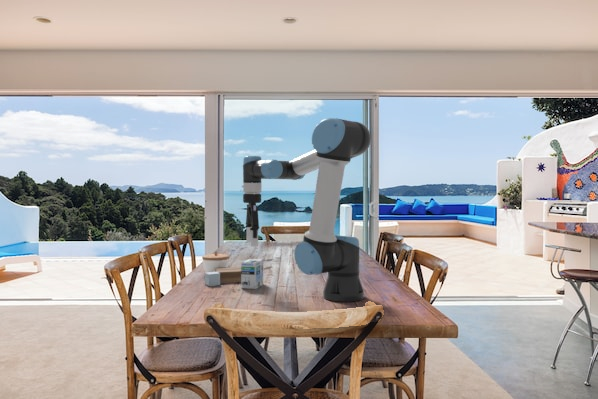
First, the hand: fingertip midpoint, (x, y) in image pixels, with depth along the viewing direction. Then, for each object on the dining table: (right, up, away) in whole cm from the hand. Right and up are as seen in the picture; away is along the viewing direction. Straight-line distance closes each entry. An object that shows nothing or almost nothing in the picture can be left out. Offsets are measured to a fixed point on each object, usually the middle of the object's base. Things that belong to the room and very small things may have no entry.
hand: (252, 244), depth 185 cm
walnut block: (-11, -18, +14) cm, 25 cm away
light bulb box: (0, -18, 0) cm, 18 cm away
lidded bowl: (-20, -17, +26) cm, 37 cm away
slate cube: (-17, -18, +4) cm, 25 cm away
